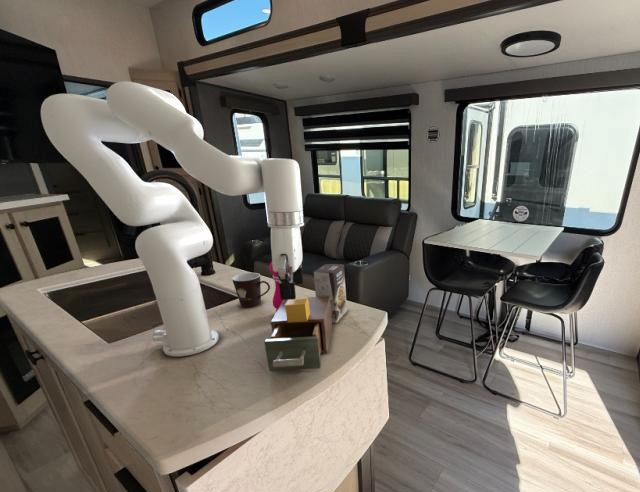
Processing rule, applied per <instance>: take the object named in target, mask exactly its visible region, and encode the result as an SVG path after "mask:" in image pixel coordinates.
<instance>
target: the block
mask: <svg viewBox="0 0 640 492" xmlns="http://www.w3.org/2000/svg"><path fill="white" fill-rule="evenodd" d="M308 297H309V296H296V298H295V299H291V300H288V301H287V303H286V304H285V308H286V315H287V322H307V320H308V317H309V315H310V309H309V300H308Z"/></svg>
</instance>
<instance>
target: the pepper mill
mask: <svg viewBox="0 0 640 492" xmlns="http://www.w3.org/2000/svg"><path fill="white" fill-rule="evenodd" d="M286 269H291V268H286ZM269 272H270V273H271V274H272V275H271V276H272V280H273V282H274V284H275V285H274V286H275V287H274V292H273V293H274V294H273V297H272V307H273V308H274V309H275V313H276V312H277V310H278V309H279V307H280V305H281V304H282V302H283V300H282V299H281V297H280V288H279V278H278V275H279V273H278V272H274V271H273V264H272V261H271V262H270V263H269ZM286 274H288V275H289V273H286Z"/></svg>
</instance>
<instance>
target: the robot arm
mask: <svg viewBox="0 0 640 492" xmlns="http://www.w3.org/2000/svg"><path fill="white" fill-rule="evenodd" d="M105 95H106V96H105V98H106V99H102V98H97V97H93V96H87V95H82V94H77V93H75V94H74V93H57V94H52V95H50V96H48V97H47V98H45V99H44V100H43V102H42V104H41V107H40V118H41V123H42V127H43V129H44V132H45V135H46V136H47V137H48V139H49V141H50V143H51V144H52V145H53V146H54V148H55V149H56V150H57V151H58V153H60V154H61V155H62V156H63V158H64V159H66V161H67V162H69V163H70V164H71V165H72V166H73V167H74V168H75V169H76V170H77V171H78V172H79V174H81V175H82V177H84V179H85V180H86V181H87V182H88V184H89V185H90V186H91V187H92V189H93V190H94V191H95V193H96V194H97V195H98V197H100V199H101V200H102V201H103V202H104V203H105V205H106V206H107V207H108V208H109V210H110V211H111V212H112V213H113V215H115V216H116V218H117V219H119V221H120V222H122V223H123V224H125V225H127V226H130V227H141V226H148V225H153V224H159V223H163V224H160V225H156V226H153V227H150V228H149V227H148V228H147V229H145V230H143V231H142V232H140V234H138V236H137V237H136V239H135V242H134V243H135V244H134V245H135V251H136V254H137V256H138V259H139V260H140V261H141V263H142V265H143V267H144V268H145V271H146V273H147V276H148V278H149V280H150V283H151V286H152V290H153V293H154V295H155V299H156V303H157V307H158V311H159V314H160V317H161V321H162V324H163V327H164V329H162V330H161V329H160V330H154V331H153V332H152V341H153V342H163V344H162V345H163V346H162V351H163V353H164V354H165V355H166V356H168V357H175V358H176V357H187V356H192V355H196V354H199V353H201V352H204V351H207V350H209V349H210V348H212V347H213V346H214V345H215V344H216V343H218V341H219V339H220V336H219V332H217V331H216V330H215V329H214V330H213V329H211V327H210V322H209V317H208V314H207V309H206V305H205V300H204V296H203V292H202V288H201V284H200V279H199V277H198V275H197V273H196V271H194V269H193V268H192V267H191V266H190V265H189V264H188V261H191V260H192V259H196V258H198V257H200V256H203V255H205V254H207V253H208V252H209V251H211V249H212V247H213V244H214V238H213V235H212V232H211V230H210V228H209V227H208V225H207V224H206V222H205V221H204V220H203V218H202V217H201V215H200V214H199V213H198V211H197V210H196V208H194V206H193V204H192V203H191V202H190V201H189V200H188V198H187V196H185V194H184V193H183V192H182V191H181V190H180V189H178V188H177V187H175V186H174V185H172V184H170V183H167V182H161V181H160V182H159V181H156V182H155V181H154V182H146V181H144V180H142V179H141V178H140V177H139V176H138V175H137V174H136V172H135V171H134V170H133V168H132V167H131V166H130V165H129V163H128V162H127V161H126V160H125V159H124V158H123V157H122V156H120V155H119V154H118V153H117V152H115V151H113V150H112V149H111V148H109V147H107V146H106V145H105V144H103V142H107V143H122V144H138V143H144V142H147V141H151V140H152V141H153V142H155V143H156V144H158V145H160V146H161V147H163V148H164V149H166V150H167V151H170V152H171V153H172V154H173V155H174V157H175V159H176V161H177V163H178V164H179V165H180V166H181V168H182V169H183V170H184V171H185V172H186V173H187V174H188V175H190V176H191V177H193V179H195V180H197V181H198V182H200V183H202V184H204V185H205V186H206V187H208V188H210V189H212V190H214V191H216V192H218V193H220V194H223V195H225V196H231V197H236V196H243V195H253V194H259V193H263V194H264V195H263V196H264V202H265V211H266V218H267V227H268V228H270V246H271V247H270V249H271V260H272V261H271V262H272V264H273V271H274V272H278V273H279V275H278V278H279V288H280V297H281V299H282V300H291V299H295V298H296V297H297V294H296V285H303V284H304V274H303V272H304V271H303V266H302V265H303V264H302V262H303V244H302V234H301V227H303V226H305V222H304V221H305V220H304V219H305V218H304V208H303V207H304V206H303V195H302V182H301V169H300V164H299V163H298V161H296V159H292V158H278V157H277V158H272V157H271V158H261V157H255V156H244V155H229V154H227V153H225V152H223V151H221V150H220V149H218V148H217V147H215V146H214V145H212V144H210V143H209V142H207V141H205V140H204V133H205V132H204V129H203V126H202V124H201V122H200V121H199V120H198V119H197V118H195V117H193V116H192V115H190V114H189V113H187V111H186V109H185V106H184V105H183V103H182V102H181V100H179V98H177V97H176V96H175V95H173V94H172V93H170V92H169V91H166V90H164V89H159V88H156V87H153V86H149V85H146V84H142V83H139V82H134V81H127V80H126V81H124V80H123V81H118V82H115V83H113V84H111V86H109V87H108V89H107V91H106V93H105ZM286 268H291V269H286ZM286 273H289V275H288V274H286Z"/></svg>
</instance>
